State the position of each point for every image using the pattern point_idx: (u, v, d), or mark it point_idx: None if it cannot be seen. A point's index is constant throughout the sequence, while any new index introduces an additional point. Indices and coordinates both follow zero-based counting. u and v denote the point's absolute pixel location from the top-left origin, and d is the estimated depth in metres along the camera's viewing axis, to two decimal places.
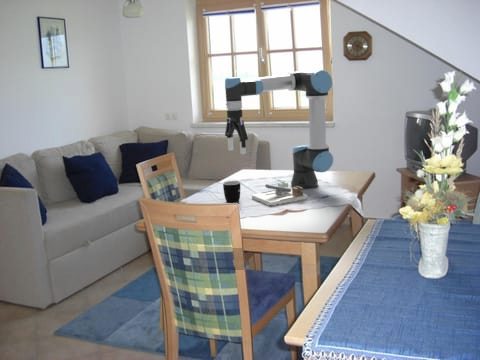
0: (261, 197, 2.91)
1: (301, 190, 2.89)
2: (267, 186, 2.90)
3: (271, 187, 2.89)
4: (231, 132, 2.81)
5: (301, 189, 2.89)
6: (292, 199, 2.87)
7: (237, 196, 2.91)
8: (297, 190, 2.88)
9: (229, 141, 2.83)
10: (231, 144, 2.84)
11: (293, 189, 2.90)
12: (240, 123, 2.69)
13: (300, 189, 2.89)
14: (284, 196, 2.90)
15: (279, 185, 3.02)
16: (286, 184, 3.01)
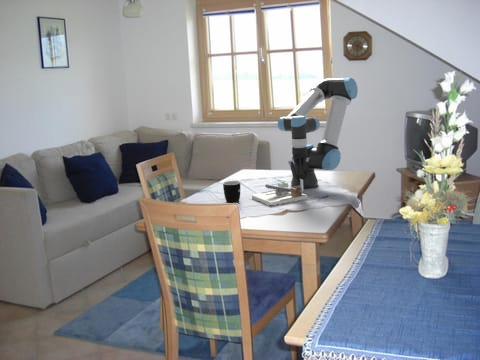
0: (261, 197, 2.91)
1: (300, 190, 2.89)
2: (267, 186, 2.90)
3: (271, 187, 2.89)
4: (301, 171, 2.89)
5: (300, 190, 2.89)
6: (292, 199, 2.87)
7: (237, 196, 2.91)
8: (296, 190, 2.88)
9: None
10: None
11: (292, 189, 2.90)
12: (289, 164, 2.86)
13: (299, 189, 2.88)
14: (284, 196, 2.90)
15: (279, 185, 3.02)
16: (286, 184, 3.01)
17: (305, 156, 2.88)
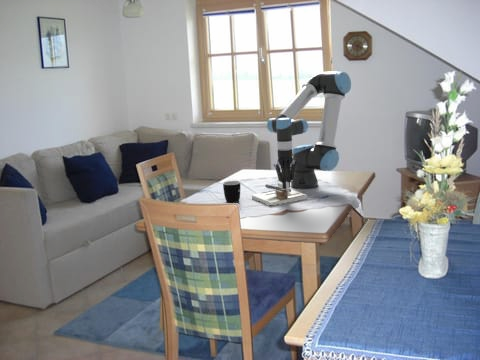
0: (261, 197, 2.91)
1: (286, 193, 2.85)
2: (267, 186, 2.90)
3: (271, 187, 2.89)
4: (287, 174, 2.85)
5: (286, 192, 2.85)
6: (292, 199, 2.87)
7: (237, 196, 2.91)
8: (282, 193, 2.84)
9: None
10: None
11: (277, 192, 2.86)
12: (275, 167, 2.82)
13: (284, 192, 2.84)
14: None
15: (279, 185, 3.02)
16: None
17: (291, 159, 2.84)
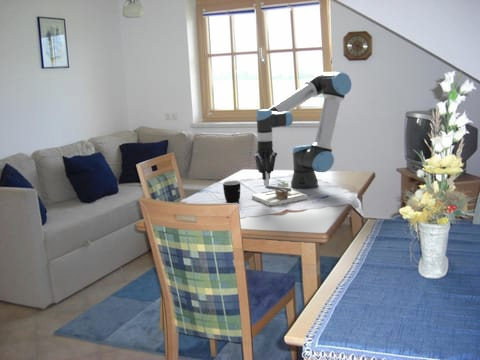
0: (261, 197, 2.91)
1: (285, 193, 2.85)
2: (267, 187, 2.90)
3: (271, 187, 2.89)
4: (267, 165, 2.88)
5: (286, 192, 2.85)
6: (292, 199, 2.87)
7: (237, 196, 2.91)
8: (282, 193, 2.84)
9: None
10: None
11: (277, 192, 2.86)
12: (255, 158, 2.84)
13: (284, 192, 2.84)
14: None
15: (279, 185, 3.02)
16: (286, 184, 3.01)
17: (271, 150, 2.86)
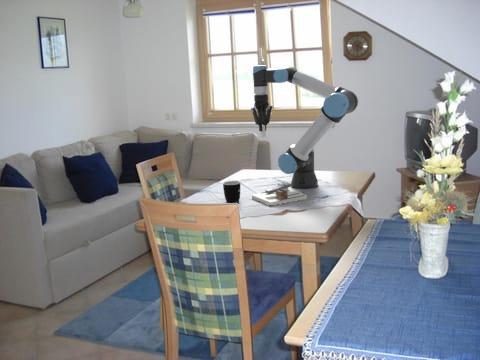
0: (261, 197, 2.91)
1: (285, 193, 2.85)
2: (267, 192, 2.90)
3: (271, 192, 2.90)
4: (263, 117, 3.09)
5: (286, 192, 2.85)
6: (292, 199, 2.87)
7: (237, 196, 2.91)
8: (282, 193, 2.84)
9: None
10: None
11: (277, 192, 2.86)
12: (252, 110, 3.06)
13: (284, 192, 2.84)
14: None
15: None
16: None
17: (266, 103, 3.07)
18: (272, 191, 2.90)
